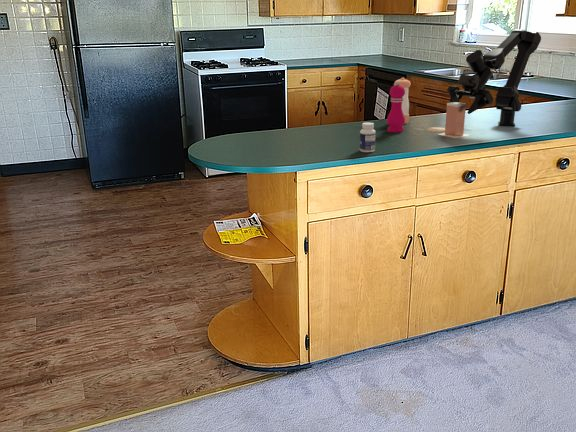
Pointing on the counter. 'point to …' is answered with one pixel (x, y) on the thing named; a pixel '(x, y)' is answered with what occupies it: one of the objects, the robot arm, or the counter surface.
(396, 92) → the pepper mill
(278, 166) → the counter surface
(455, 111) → the tea tin
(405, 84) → the salt shaker
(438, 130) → the cork coaster
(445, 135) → the tile
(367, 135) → the pill bottle
